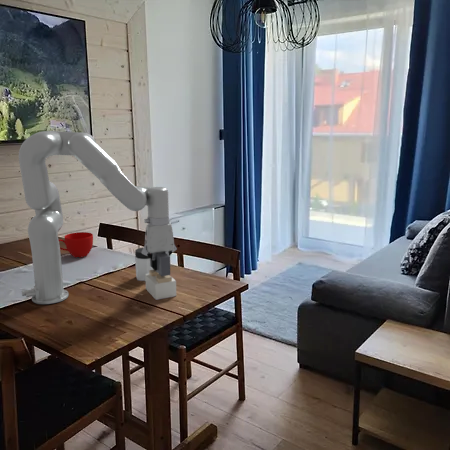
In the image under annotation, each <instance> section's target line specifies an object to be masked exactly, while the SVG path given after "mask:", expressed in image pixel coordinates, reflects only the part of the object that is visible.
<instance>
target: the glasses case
mask: <svg viewBox="0 0 450 450" xmlns="http://www.w3.org/2000/svg"><path fill="white" fill-rule="evenodd" d="M155 258H156V261H157V270H156V272H157V273H158V274H159V275H161V276H167V275H170V276H171V255H170V256H169V255H167V254H166V253H165V252H159V253H156V257H155ZM150 266H151V258H150Z"/></svg>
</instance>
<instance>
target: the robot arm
mask: <svg viewBox="0 0 450 450" xmlns="http://www.w3.org/2000/svg"><path fill="white" fill-rule="evenodd" d="M56 155H57V156H73V157H74V158H75V159H76V160H78V162H80V164H81V165H83V166H84V167H85V168H86V169H87V170H88V171H89V172H90V173H91V174H93V175H94V177H96V178H97V179H98V180H99V181H100V183H101V184H102V185H103V186H104V187H105V188H106V189H107V190H108V191H109V192H110V193H111V194H112V195H113V197H114V198H116V199H117V200H118V201H119V202H120V203H121V204H122V205H123V206H125V208H126V209H128V210H130V211H133V212H140V211H141V210H143V209H144V208H145V207H146V206H147V218H145V219H144V220H143V221H144V222H143V223H145V224H146V227H145V235H144V246H143V247H142V248H143V250H142V252H141V253H142V254H144V255H146V256H148V257H149V258H151V267H152V268H153V269H154V270H155V271H156V270H157V261H156V258H155V257H156V253H159V252H165V253H166V254H167V255H169V256H170V257H171V255H172V254H173V253H174V252H176V251H177V250H178V248H177V247H176V244H175V239H174V232H173V227H172V224H171V223H170V214H169V211H170V209H169V191H168V188H166V187H164V186H153V187H148V186H147V187H146V186H139V185H135V184H134V183H132V182H131V181H130V180H129V179H128V178H127V176H125V174H124V173H123V172H122V170H121V168H120V167H119V164H118V163H117V161H116V160H115V159H113V158H112V156H110V155H109V154H108V153H107V152H106V151H105V150H104V149H102V147H101V146H99V144H98V143H97V142H96V140H95V138H94V136H93V135H91V134H90V133H87V132H84V131H83V132H82V131H81V132H80V131H79V132H76V131H59V130H57V131H56V130H44V131H38V132H36V133H33V134H31V135H30V136H28V137H27V138H26V139H25V140H24V141H23V142H22V144H21V146H20V148H19V151H18V164H19V170H20V174H21V182H22V187H23V193H24V199H25V203H26V204H27V206H28V207H29V208H30V209H31V210H34V212H35V213H34V214H35V215H34V216H33V217H32V218H31V220H30V221H29V223H28V226H27V235H28V238H29V239H28V240H29V244H30V249H31V259H32V269H33V276H34V277H33V278H34V279H33V280H34V286H33V288H30V289H29V290H27V289H26V290H25V289H24V290H22V291H21V296H22V297H25V296H26V297H25V298H31V301H32V302H33V303H34V304H37V305H52V304H56V303H57V304H58V303H61V302H63V301H65V300H67V298H69V291H68V290H67V289H64V280H63V268H62V267H63V266H62V256H61V255H62V254H61V249H60V247H61V246H60V241H59V240H60V239H59V234H58V233H59V231H60V230H61V229H62V228H63V225H64V215H63V209H62V203H61V198H60V193H59V189H58V187H57V186H56V184H55V183H53V181H50V178H49V171H48V168H47V164H46V160H47V158H49V157H52V156H56ZM147 250H148V252H149V253H148V252H147Z"/></svg>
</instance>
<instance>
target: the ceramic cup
mask: <svg viewBox="0 0 450 450" xmlns="http://www.w3.org/2000/svg"><path fill="white" fill-rule="evenodd" d="M58 240H59V242H62V243H64V245H65V247H66V248H64V247H61V246H60V251H61V250H62V251H67V252H68V253H69V254H70V255H71V256H72V257H73V258H77V257H79V258H85V257H87V256H88V255H89V254H90V252H91V250H92V248H93V243H94V234H93V233H91V232H86V231H83V232H82V231H79V232H71V233H67V234H65V235H64V239H61V238H60V239H58ZM84 256H85V257H84Z"/></svg>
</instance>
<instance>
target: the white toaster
mask: <svg viewBox="0 0 450 450" xmlns="http://www.w3.org/2000/svg"><path fill="white" fill-rule="evenodd" d="M145 280H146V281H145V290H147V292H148V293H149V294H150V295H151V296H152V297H153V299H155V301H156V300H157V301H158V300H162V299H169V298H172V297H177V280H176V279H175V278H174V277H173V276H171V274H170V275H167V276H161V275H159V274H158V273H157V272H156V271H155V270H149V274H145Z"/></svg>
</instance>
